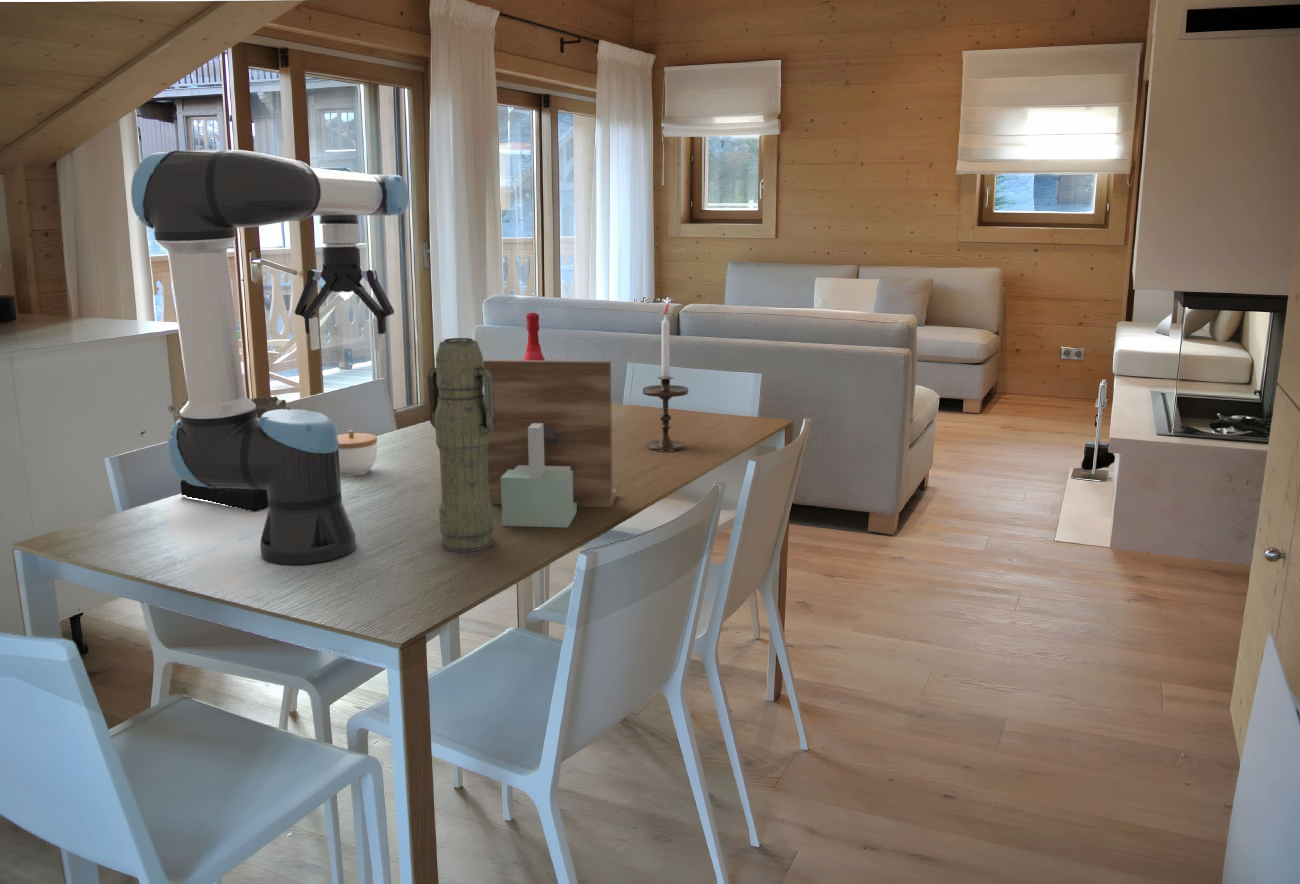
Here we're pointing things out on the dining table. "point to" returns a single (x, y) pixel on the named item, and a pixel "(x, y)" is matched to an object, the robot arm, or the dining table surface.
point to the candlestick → (665, 394)
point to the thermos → (463, 443)
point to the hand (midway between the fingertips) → (347, 349)
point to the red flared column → (533, 338)
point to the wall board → (554, 423)
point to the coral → (234, 496)
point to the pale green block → (537, 489)
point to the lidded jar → (356, 453)
